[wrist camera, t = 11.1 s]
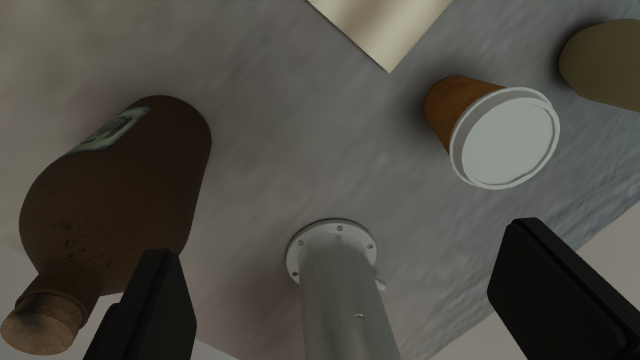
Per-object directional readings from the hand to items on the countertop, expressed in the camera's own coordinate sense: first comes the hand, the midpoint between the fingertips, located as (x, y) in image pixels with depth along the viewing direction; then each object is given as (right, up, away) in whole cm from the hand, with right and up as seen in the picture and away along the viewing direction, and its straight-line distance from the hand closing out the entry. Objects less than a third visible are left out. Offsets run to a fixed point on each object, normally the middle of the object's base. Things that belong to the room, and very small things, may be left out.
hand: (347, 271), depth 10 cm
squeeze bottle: (+28, +17, +30) cm, 44 cm away
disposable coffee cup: (+14, +11, +31) cm, 36 cm away
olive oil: (-17, +8, +29) cm, 34 cm away
